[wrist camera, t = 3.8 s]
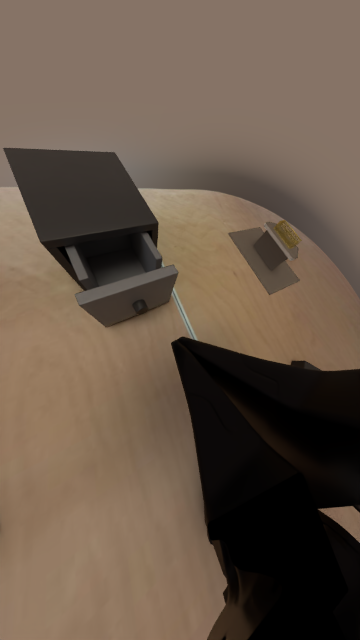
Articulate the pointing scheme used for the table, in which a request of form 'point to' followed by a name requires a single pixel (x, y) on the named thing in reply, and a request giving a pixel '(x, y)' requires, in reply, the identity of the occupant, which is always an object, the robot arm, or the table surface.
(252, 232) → the platform
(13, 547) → the table surface
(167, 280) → the drawer
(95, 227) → the cabinet
